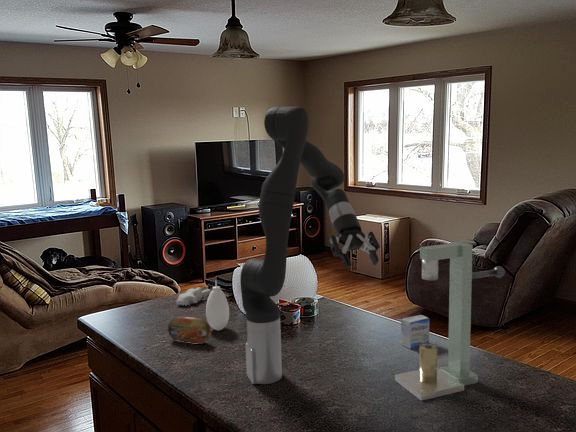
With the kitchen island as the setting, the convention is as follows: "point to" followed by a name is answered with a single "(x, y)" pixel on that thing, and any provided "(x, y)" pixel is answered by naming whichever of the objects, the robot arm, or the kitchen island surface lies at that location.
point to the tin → (189, 329)
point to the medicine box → (414, 331)
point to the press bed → (450, 320)
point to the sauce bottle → (217, 309)
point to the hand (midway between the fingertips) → (362, 265)
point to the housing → (428, 363)
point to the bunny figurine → (191, 296)
